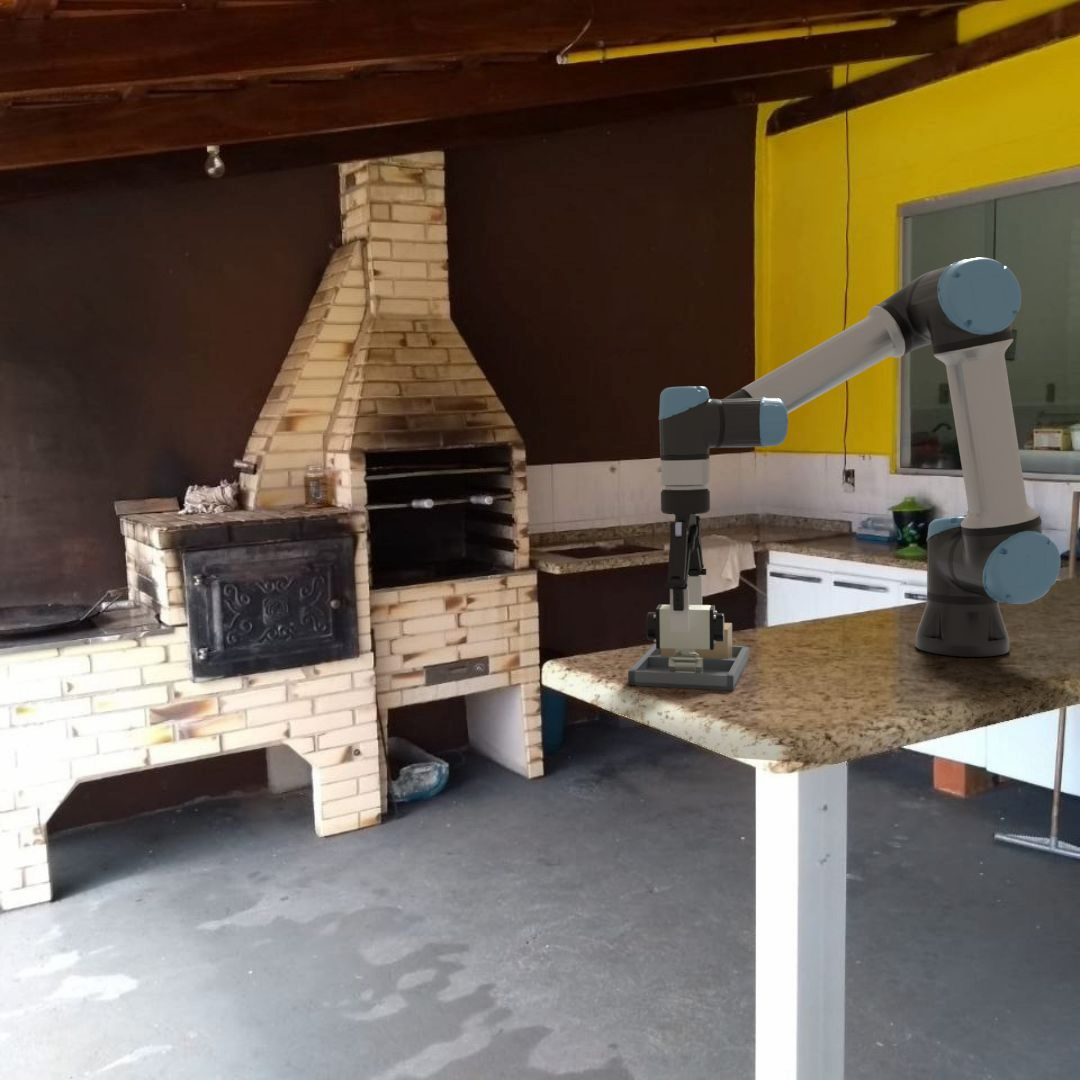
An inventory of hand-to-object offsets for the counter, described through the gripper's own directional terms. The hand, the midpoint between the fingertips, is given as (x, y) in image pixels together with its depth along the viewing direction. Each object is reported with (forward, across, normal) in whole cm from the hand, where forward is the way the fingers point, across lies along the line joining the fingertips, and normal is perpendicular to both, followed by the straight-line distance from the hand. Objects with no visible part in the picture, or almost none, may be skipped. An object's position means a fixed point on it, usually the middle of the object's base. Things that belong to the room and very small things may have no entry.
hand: (687, 623), depth 164 cm
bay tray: (+9, -5, 0) cm, 10 cm away
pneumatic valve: (+8, 0, 0) cm, 8 cm away
